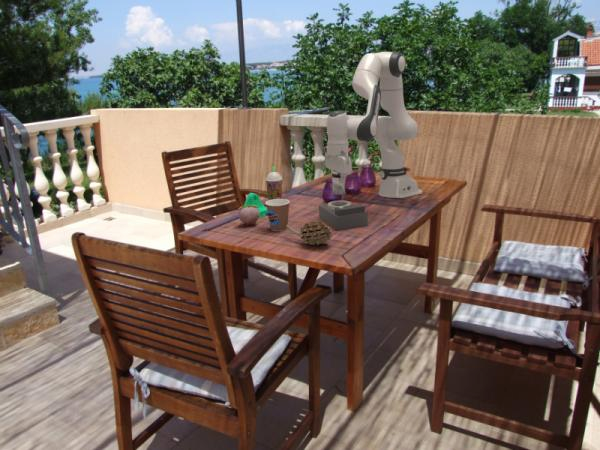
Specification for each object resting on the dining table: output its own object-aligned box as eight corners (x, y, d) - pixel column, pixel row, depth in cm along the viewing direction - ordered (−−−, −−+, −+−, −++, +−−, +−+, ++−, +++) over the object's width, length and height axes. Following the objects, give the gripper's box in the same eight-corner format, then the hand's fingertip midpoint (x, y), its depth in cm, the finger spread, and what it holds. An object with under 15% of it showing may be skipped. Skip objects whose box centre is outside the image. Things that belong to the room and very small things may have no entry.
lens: (342, 191, 230) (341, 168, 227) (347, 193, 225) (347, 170, 222) (330, 192, 228) (329, 169, 225) (335, 195, 223) (334, 172, 220)
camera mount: (251, 219, 238) (249, 198, 235) (242, 216, 244) (240, 195, 240) (272, 214, 245) (270, 193, 242) (262, 211, 251) (261, 190, 248)
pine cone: (338, 243, 201) (337, 219, 198) (325, 251, 193) (324, 226, 190) (291, 235, 213) (289, 212, 210) (277, 243, 205) (275, 219, 202)
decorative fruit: (256, 221, 235) (255, 199, 232) (262, 225, 228) (260, 203, 225) (236, 224, 232) (234, 202, 229) (241, 229, 225) (239, 206, 222)
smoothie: (265, 208, 255) (262, 168, 249) (270, 203, 263) (267, 164, 257) (281, 208, 253) (279, 168, 247) (286, 203, 261) (283, 164, 255)
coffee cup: (262, 229, 222) (260, 202, 219) (280, 223, 229) (278, 197, 226) (278, 234, 215) (276, 206, 212) (296, 228, 222) (294, 201, 218)
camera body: (347, 213, 239) (347, 194, 236) (367, 225, 221) (367, 204, 218) (319, 218, 234) (318, 198, 231) (337, 230, 216) (336, 209, 213)
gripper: (355, 152, 212) (355, 185, 216) (335, 146, 231) (335, 176, 235) (341, 154, 210) (342, 187, 214) (321, 147, 229) (322, 178, 233)
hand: (338, 181), depth 225 cm, fingers closed on lens, 5 cm apart
